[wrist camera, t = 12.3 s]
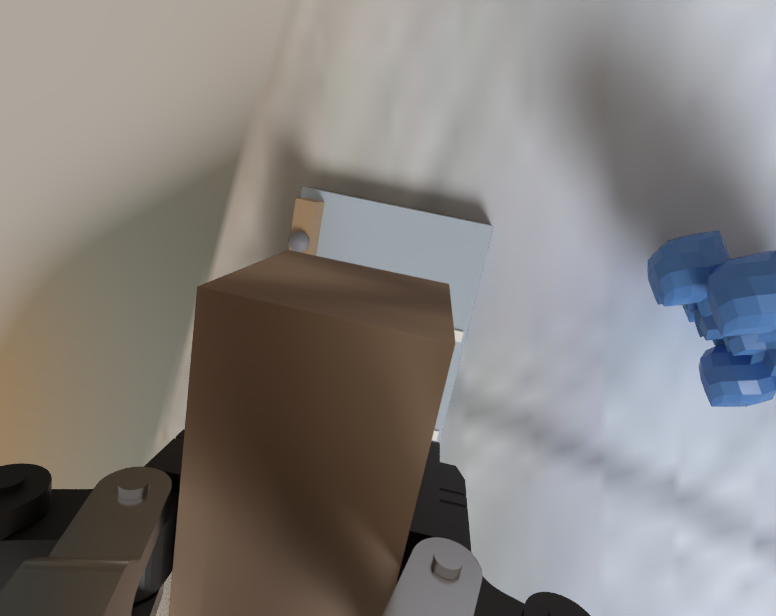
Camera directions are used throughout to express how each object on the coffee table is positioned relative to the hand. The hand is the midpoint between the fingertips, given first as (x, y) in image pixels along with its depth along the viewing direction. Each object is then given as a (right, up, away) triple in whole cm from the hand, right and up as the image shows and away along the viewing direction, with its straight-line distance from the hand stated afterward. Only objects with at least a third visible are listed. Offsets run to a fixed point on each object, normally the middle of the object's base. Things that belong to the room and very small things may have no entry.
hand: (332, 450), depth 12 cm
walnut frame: (0, 0, 0) cm, 0 cm away
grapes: (+17, +4, +12) cm, 22 cm away
